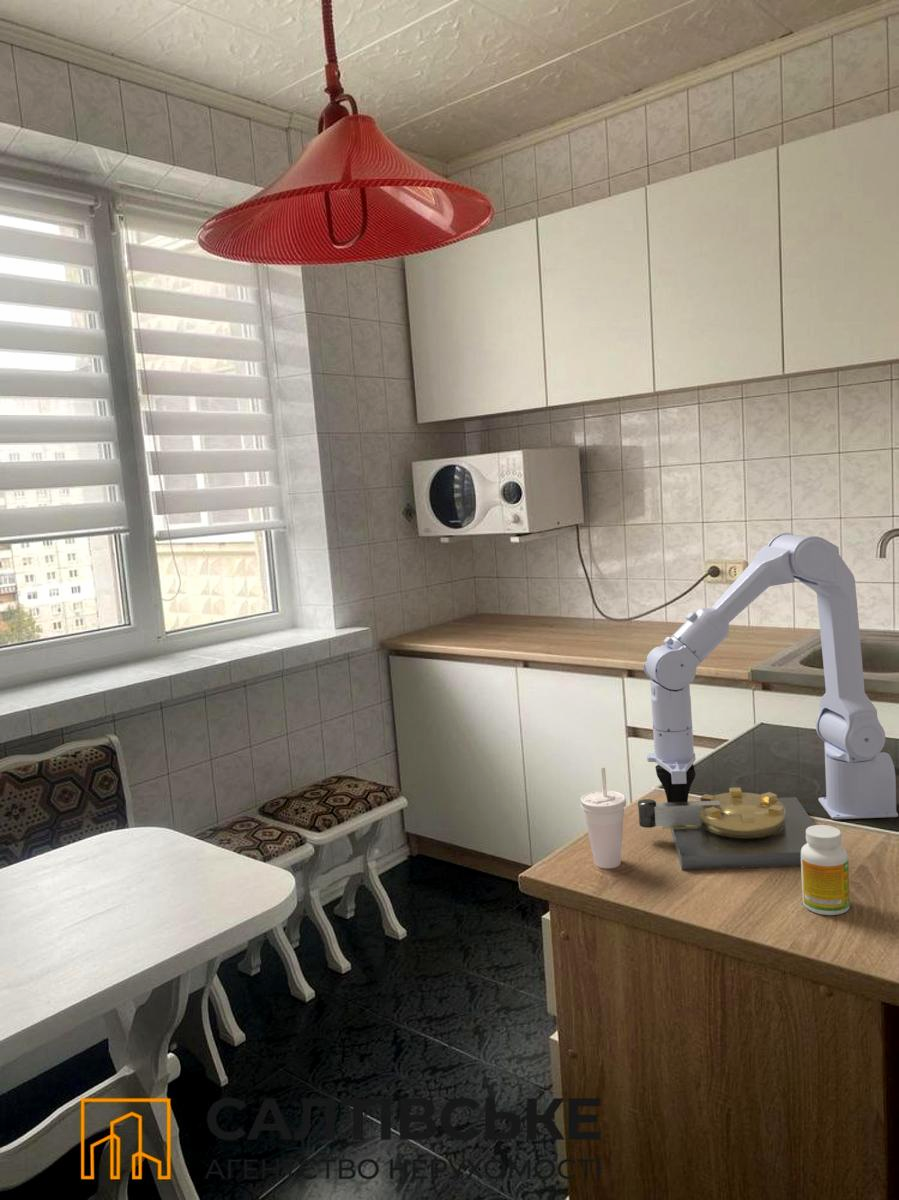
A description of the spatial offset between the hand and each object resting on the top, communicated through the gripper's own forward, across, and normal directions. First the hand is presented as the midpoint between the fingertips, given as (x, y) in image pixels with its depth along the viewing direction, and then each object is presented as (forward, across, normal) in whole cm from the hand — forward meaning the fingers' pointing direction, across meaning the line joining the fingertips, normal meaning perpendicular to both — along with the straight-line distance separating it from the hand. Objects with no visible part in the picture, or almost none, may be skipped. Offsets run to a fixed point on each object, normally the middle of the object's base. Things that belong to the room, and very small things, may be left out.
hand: (677, 813), depth 136 cm
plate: (+3, +3, +9) cm, 10 cm away
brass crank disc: (0, +3, +4) cm, 5 cm away
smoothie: (+3, +10, -11) cm, 15 cm away
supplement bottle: (+3, +23, +16) cm, 28 cm away
